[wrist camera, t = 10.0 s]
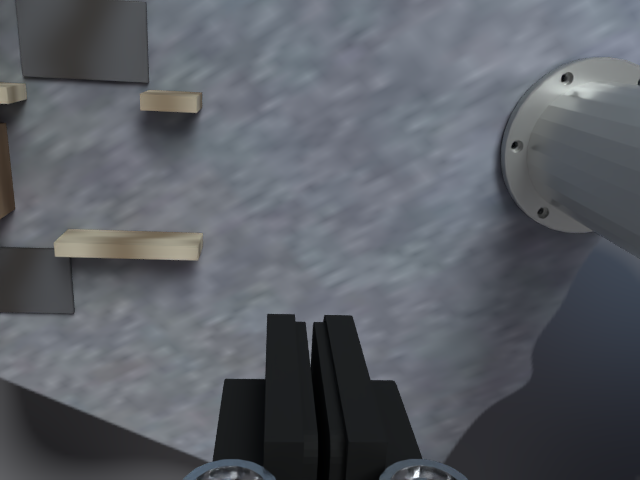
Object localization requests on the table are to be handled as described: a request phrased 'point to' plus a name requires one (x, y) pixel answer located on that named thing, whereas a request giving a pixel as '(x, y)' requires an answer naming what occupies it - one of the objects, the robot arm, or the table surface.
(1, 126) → the block
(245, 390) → the robot arm
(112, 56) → the trap lane
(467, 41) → the table surface
